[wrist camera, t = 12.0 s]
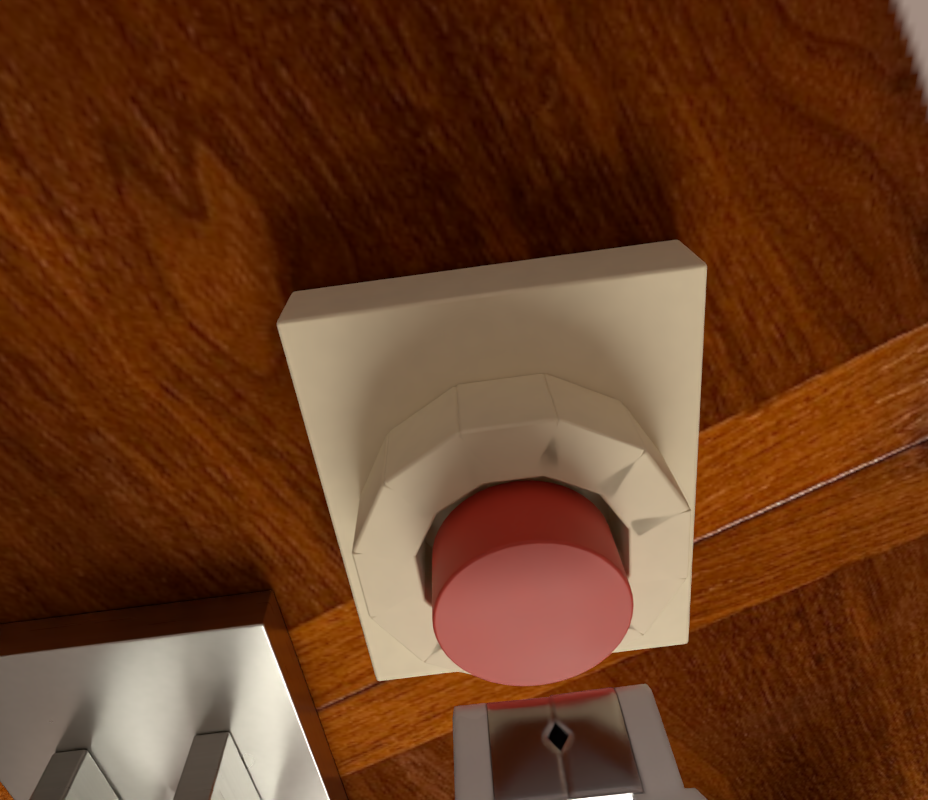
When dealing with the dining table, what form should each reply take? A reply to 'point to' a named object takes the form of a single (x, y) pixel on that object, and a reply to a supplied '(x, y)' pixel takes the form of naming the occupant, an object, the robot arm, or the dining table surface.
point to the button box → (504, 420)
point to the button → (528, 585)
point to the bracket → (161, 706)
